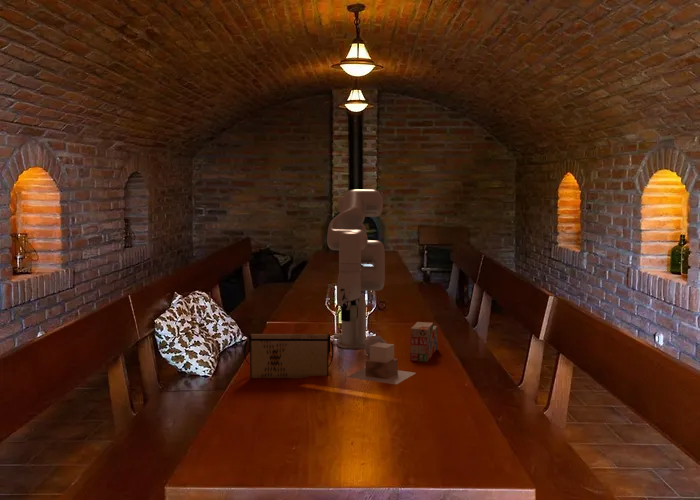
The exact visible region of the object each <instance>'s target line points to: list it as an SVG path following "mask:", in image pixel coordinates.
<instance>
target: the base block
mask: <svg viewBox="0 0 700 500" xmlns="http://www.w3.org/2000/svg"><path fill="white" fill-rule="evenodd" d="M365 367H366V371H365V376H369V377H375V378H382V379H389V378H391V377H393V376H394V375H396V374H398V370H399V359H398V358H395V357H394V359H393V360H391V361H390V362H388V363H382V362H374V361H370V358H369V359H367V360H365Z"/></svg>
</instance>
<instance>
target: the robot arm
mask: <svg viewBox="0 0 700 500" xmlns="http://www.w3.org/2000/svg"><path fill="white" fill-rule="evenodd" d="M383 204H384V203H383V197H382V194H381V193H380V191H378V190H376V189H359V188H357V189H350V190H348V191H347V192H346V193H345V194H344V195H343V196H341V197H340V199H339V200H338V211H339V214H337V215H336V216H335V217H333V218H332V219H331V221H330V222H329V224H328V228H327V235H326V243H327V246H328V248H329V249H330V250H332V251H338V262H339V263H338V274H337V275H338V276H337V281H336V282H337V283H336V301H337V303H338V305H339V307H340V312H341V313H340V321H341V333H337V332H335V333H333V338H332V339H334V340H338V341H337V346H338V347H339V348H342V349H346V350H347V349H348V350H362V349H365V341H366V340H367V337H366V336H367V335H366V334H367V332H366V329H367V327H366V326H367V324H366V323H367V301H366V299H365V297H364V295H362V291H369V292H370V291H371V292H372V291H376V292H377V291H382V290H383V288H384V286H385V282H386V281H385V280H386V279H385V277H386V276H385V275H386V274H385V273H386V269H385V268H386V265H385V264H386V259H385V258H386V253H385V252H386V251H385V246H384V244H383V242H382V241H380V240H371V239H369V238H368V235H367V228H366V226H365V225H364V222H365V218H367V217H369V218H375V217H377V218H378V217H380V216H381V214H382V213H383V210H384V209H383V208H384V207H383V206H384V205H383ZM365 265H366V266H365ZM370 265H372V266H370ZM350 305H355V306H357V321H355V322H349V321H350V310H349V306H350ZM344 321H347V322H344Z"/></svg>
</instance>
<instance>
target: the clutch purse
mask: <svg viewBox="0 0 700 500" xmlns="http://www.w3.org/2000/svg"><path fill="white" fill-rule="evenodd" d="M247 336H248V338H247V337H246V338H245V343H244V345H243V346H244V347H243V356H244V360H245V362H246V363H247V364H249V367H250V369H249V370H250V371H249V376H250V379H306V378H308V377H311V376H312V377H313V376H316V377H318V376H321V377H322V376H326V377H329V367H330V366H331V364H332V362H333V359H334V344H333V342H334V341H335V339H334V338H331V333H249V334H248V335H247ZM247 345H248V351H249V361H248V359H247V356H246V350H247V349H246V348H247ZM330 353H331V358H330V359H331V360H330V361H329V357H330Z"/></svg>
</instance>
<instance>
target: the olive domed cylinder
mask: <svg viewBox="0 0 700 500" xmlns="http://www.w3.org/2000/svg"><path fill="white" fill-rule="evenodd" d="M349 310H350V321H349V322H355V321H357V306H355V305H350V306H349ZM344 322H347V321H344Z"/></svg>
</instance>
